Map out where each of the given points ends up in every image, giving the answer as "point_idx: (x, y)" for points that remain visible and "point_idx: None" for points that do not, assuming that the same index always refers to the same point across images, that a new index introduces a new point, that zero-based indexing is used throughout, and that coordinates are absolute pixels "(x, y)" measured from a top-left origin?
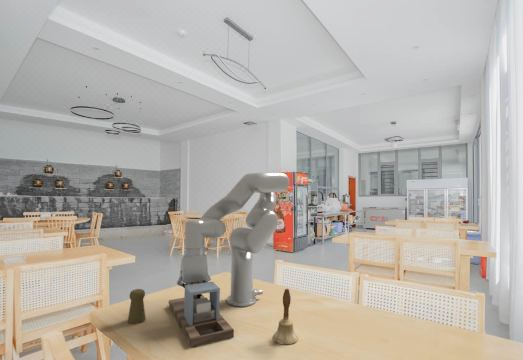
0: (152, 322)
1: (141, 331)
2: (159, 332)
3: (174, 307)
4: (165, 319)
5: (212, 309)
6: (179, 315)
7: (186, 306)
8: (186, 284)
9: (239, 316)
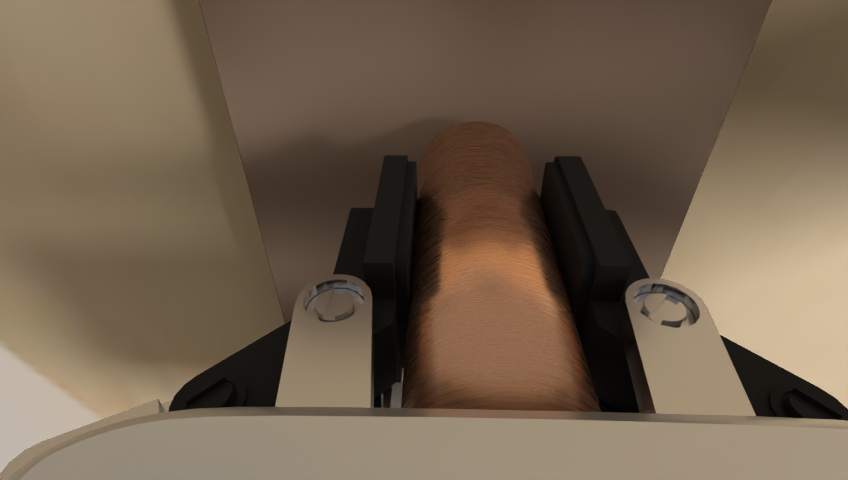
0: (42, 131)
1: (6, 246)
2: (155, 304)
3: (225, 50)
4: (166, 120)
5: None
6: (285, 272)
7: None
8: (313, 385)
9: (787, 324)
